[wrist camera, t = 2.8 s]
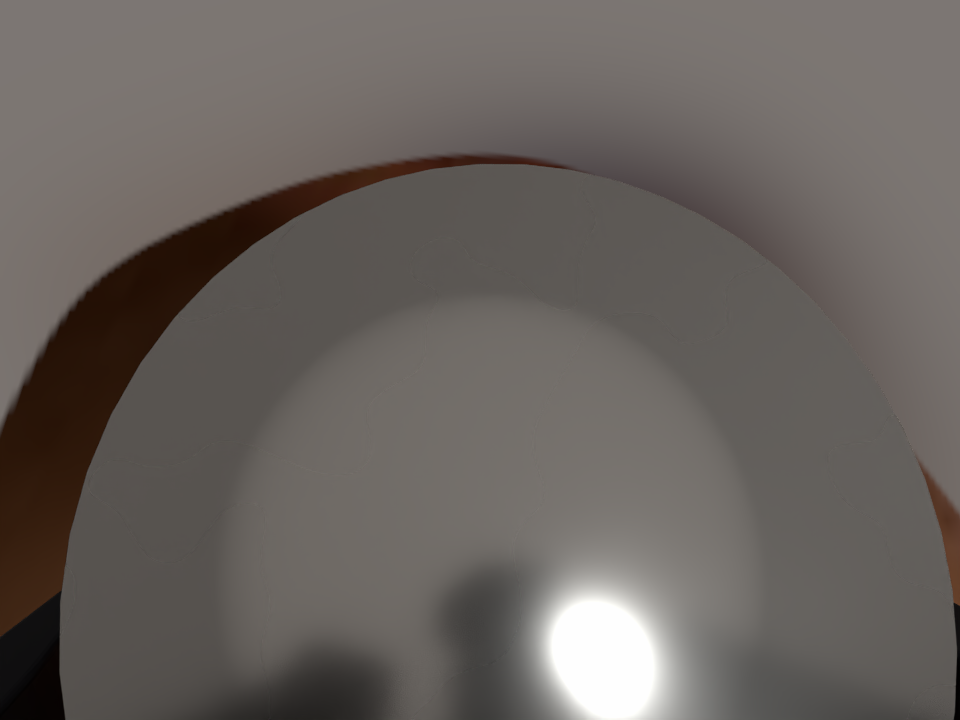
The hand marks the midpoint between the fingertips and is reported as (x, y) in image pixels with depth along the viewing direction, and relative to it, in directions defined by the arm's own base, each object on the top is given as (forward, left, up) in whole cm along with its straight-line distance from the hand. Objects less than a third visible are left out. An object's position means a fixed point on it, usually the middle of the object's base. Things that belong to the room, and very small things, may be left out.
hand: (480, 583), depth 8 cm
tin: (0, 0, -8) cm, 8 cm away
